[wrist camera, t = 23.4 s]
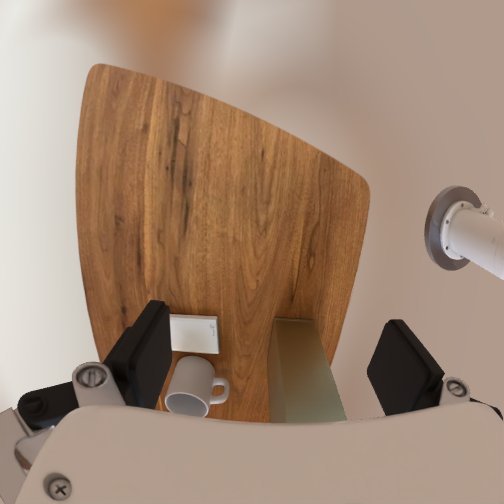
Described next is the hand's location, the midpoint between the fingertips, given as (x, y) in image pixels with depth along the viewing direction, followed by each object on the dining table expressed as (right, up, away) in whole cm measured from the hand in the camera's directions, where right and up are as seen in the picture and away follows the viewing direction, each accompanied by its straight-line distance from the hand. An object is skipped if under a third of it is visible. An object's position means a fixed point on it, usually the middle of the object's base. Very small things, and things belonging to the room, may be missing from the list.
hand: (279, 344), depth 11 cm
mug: (-11, -21, +43) cm, 49 cm away
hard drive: (-14, -12, +40) cm, 44 cm away
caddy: (+6, -14, +40) cm, 43 cm away
